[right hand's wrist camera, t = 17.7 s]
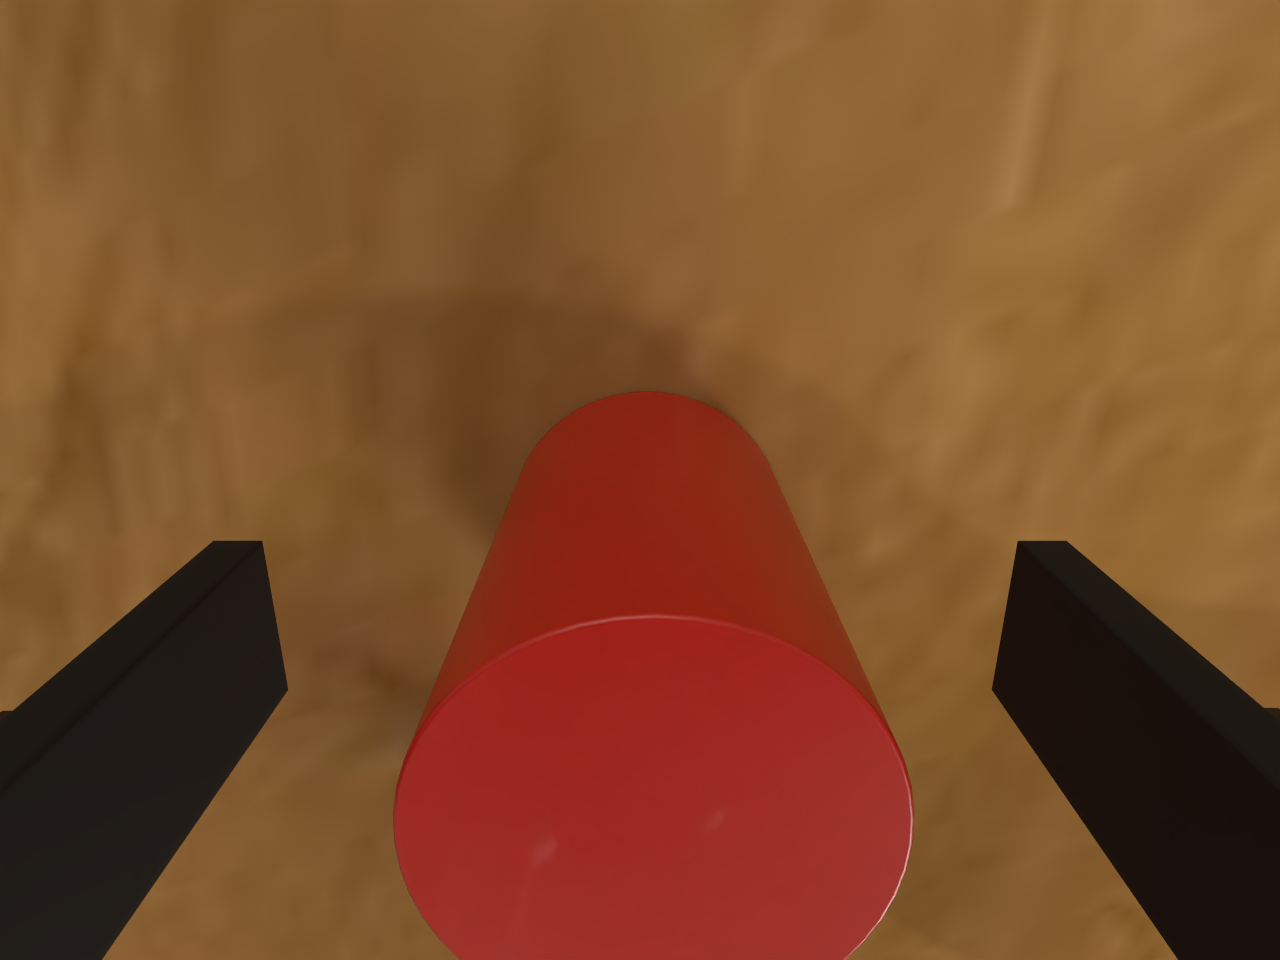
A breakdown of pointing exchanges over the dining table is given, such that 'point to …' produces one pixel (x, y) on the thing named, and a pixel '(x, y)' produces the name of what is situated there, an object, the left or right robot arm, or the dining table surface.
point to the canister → (651, 718)
